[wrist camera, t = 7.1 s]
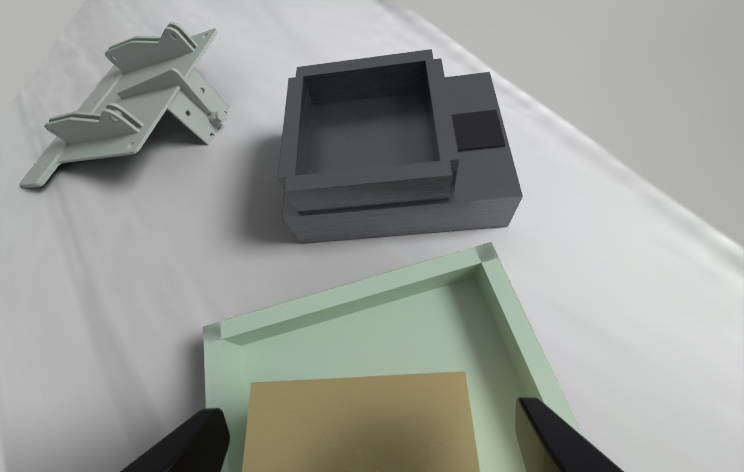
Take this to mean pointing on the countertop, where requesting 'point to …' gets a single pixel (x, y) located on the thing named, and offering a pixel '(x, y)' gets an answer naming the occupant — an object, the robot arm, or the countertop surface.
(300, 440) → the tan note paper block
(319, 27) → the countertop surface
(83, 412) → the countertop surface
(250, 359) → the parts tray
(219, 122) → the metal bracket
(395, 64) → the dark grey stepped fixture
